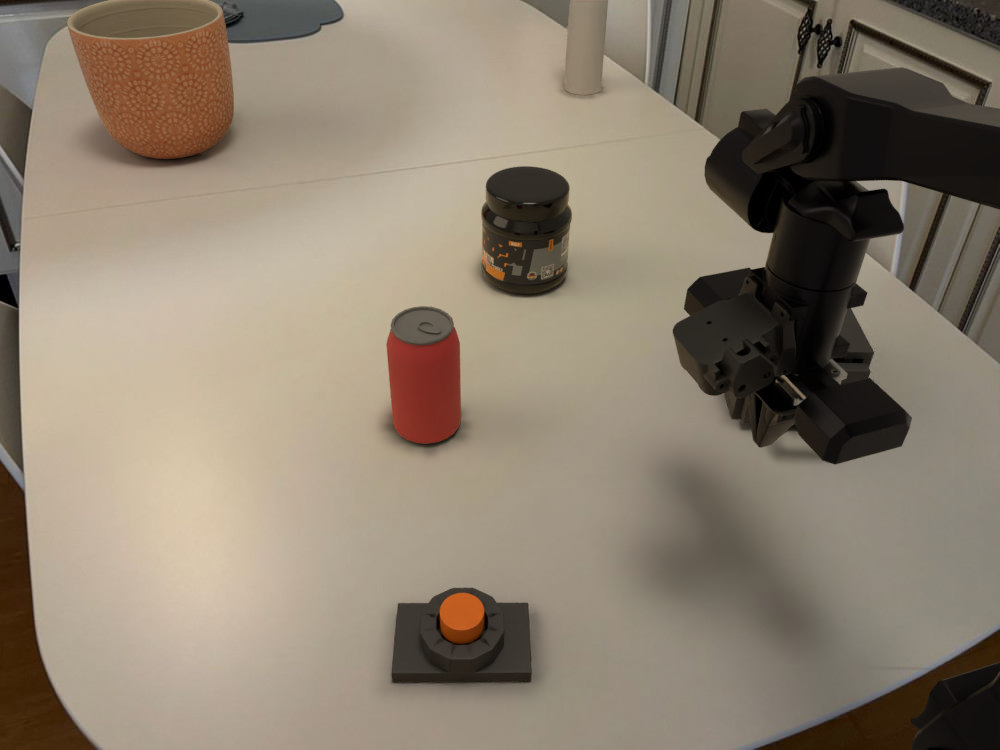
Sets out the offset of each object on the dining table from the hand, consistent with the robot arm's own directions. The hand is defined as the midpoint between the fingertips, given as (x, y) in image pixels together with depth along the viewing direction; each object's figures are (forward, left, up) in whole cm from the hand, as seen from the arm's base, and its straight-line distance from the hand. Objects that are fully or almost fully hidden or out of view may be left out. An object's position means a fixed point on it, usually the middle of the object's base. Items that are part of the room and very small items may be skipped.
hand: (761, 443), depth 65 cm
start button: (+12, +22, -9) cm, 26 cm away
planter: (+102, -22, -12) cm, 105 cm away
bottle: (+65, -81, -12) cm, 104 cm away
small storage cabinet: (+6, -23, -11) cm, 26 cm away
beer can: (+30, +4, -12) cm, 32 cm away
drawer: (+3, -19, -10) cm, 22 cm away
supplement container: (+38, -24, -12) cm, 46 cm away
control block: (+12, +22, -11) cm, 27 cm away
